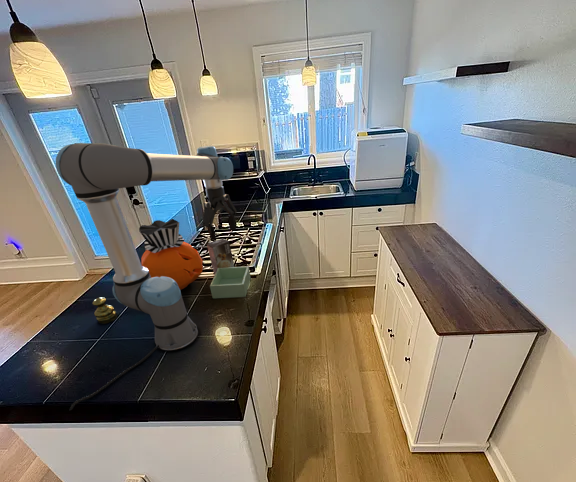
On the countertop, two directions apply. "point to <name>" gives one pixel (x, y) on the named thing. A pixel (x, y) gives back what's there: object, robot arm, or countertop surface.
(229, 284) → the tote
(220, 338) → the countertop surface
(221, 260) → the coffee box
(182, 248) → the jack-o'-lantern
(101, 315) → the brass knobbed piece
